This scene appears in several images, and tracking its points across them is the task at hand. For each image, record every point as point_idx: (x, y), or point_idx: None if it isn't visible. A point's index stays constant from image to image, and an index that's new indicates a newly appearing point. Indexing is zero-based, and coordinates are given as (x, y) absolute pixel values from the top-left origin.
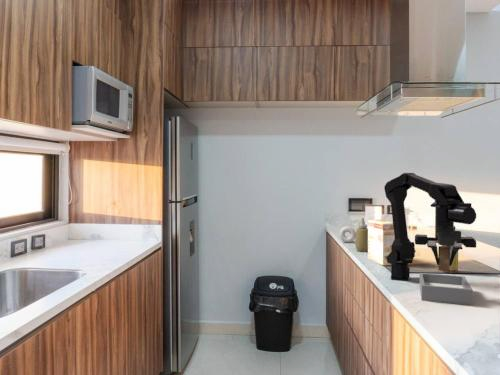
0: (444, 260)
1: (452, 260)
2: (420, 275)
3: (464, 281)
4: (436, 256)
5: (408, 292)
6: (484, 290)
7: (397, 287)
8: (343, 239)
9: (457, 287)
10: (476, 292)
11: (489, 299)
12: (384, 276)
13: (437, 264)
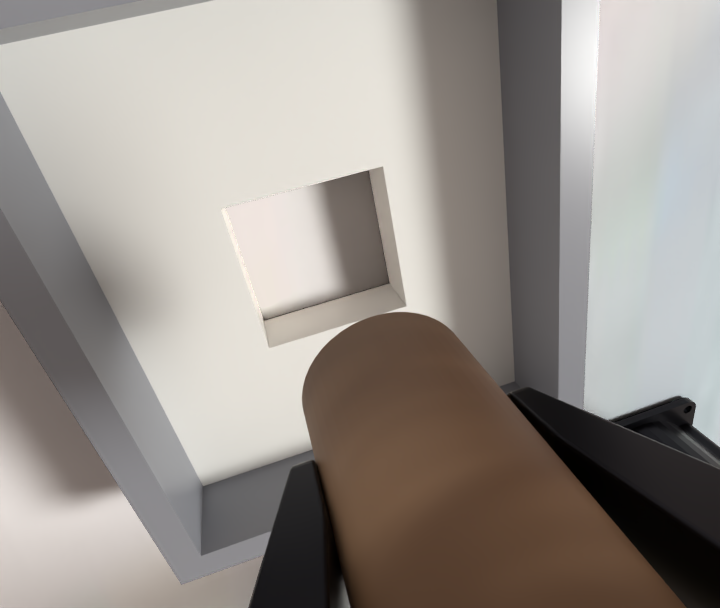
0: (456, 455)
1: (271, 569)
2: (579, 364)
3: (120, 416)
4: (699, 489)
5: (597, 138)
6: (49, 558)
7: (667, 234)
8: None
9: (219, 400)
10: (85, 477)
11: None
12: (714, 433)
13: (530, 388)
